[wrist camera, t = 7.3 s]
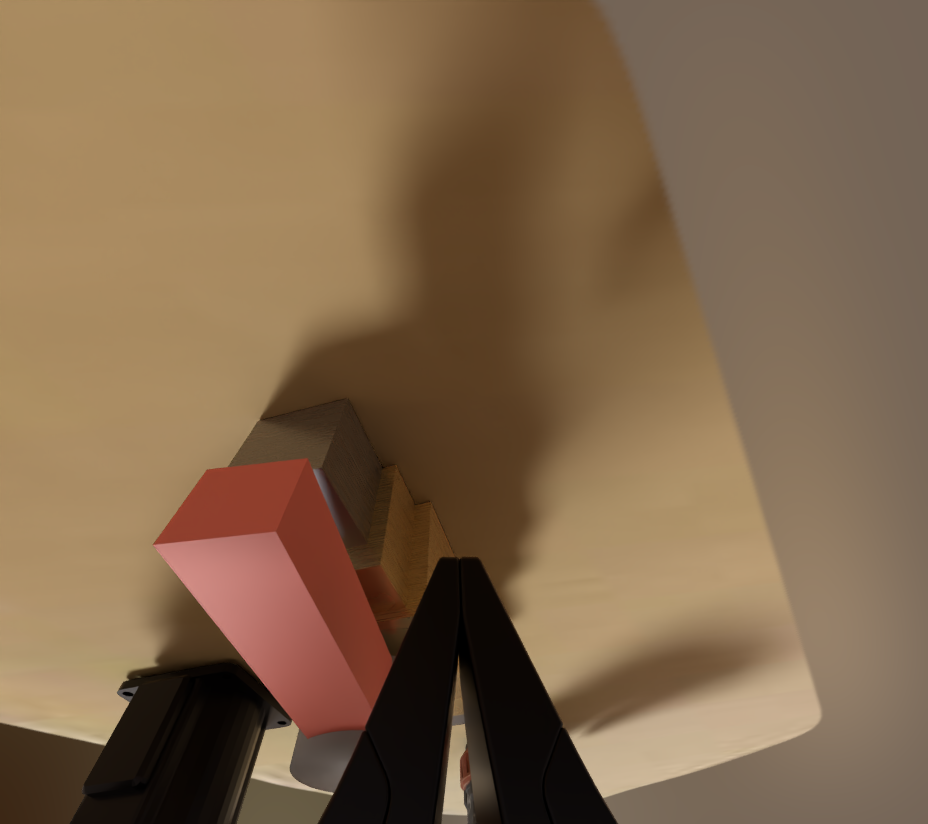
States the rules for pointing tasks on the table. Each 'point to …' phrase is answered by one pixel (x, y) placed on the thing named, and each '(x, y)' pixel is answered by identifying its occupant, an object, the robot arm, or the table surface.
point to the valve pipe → (362, 511)
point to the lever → (285, 602)
